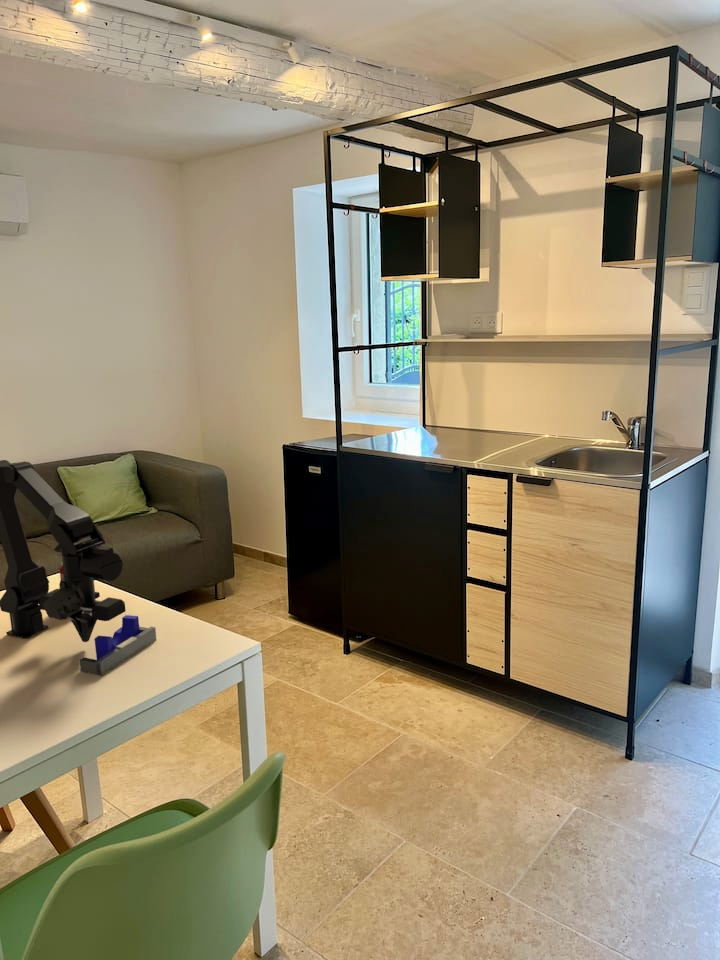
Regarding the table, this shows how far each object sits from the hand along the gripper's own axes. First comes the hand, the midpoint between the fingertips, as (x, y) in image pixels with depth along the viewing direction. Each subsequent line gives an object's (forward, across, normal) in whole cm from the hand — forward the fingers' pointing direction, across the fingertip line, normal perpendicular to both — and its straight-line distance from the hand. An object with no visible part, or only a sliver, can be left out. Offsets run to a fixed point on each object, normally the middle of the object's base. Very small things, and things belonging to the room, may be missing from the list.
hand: (85, 641), depth 157 cm
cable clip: (+2, +7, +1) cm, 8 cm away
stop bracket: (+2, +9, 0) cm, 9 cm away
